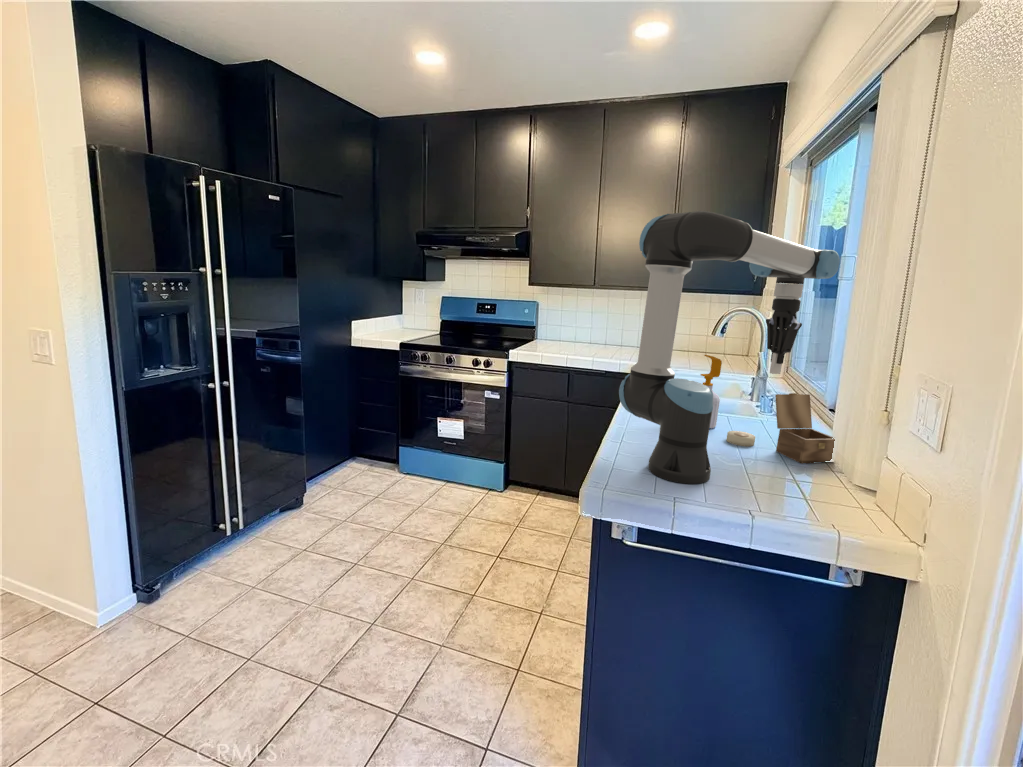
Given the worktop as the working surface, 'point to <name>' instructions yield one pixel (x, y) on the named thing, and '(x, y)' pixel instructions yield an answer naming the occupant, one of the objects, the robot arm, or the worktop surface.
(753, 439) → the domed cap
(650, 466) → the robot arm
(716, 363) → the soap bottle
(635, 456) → the worktop surface
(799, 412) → the lid
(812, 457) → the chest
